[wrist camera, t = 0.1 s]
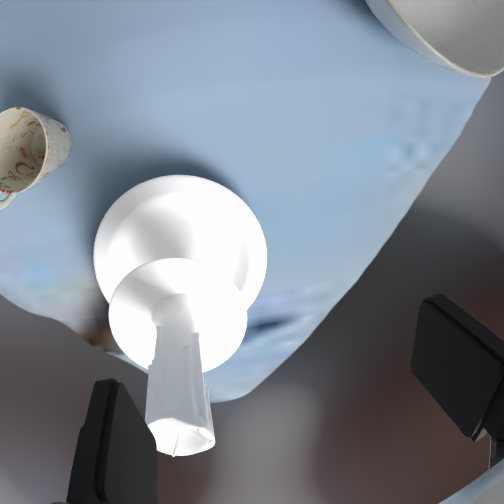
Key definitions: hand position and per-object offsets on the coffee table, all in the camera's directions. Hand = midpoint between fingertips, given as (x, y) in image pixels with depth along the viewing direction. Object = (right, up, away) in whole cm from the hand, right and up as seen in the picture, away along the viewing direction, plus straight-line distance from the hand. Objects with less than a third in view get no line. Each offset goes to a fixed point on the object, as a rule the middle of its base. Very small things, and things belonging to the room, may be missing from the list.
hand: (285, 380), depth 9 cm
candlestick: (-10, +1, +32) cm, 33 cm away
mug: (-26, +15, +23) cm, 38 cm away
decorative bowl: (+21, +40, +23) cm, 51 cm away
